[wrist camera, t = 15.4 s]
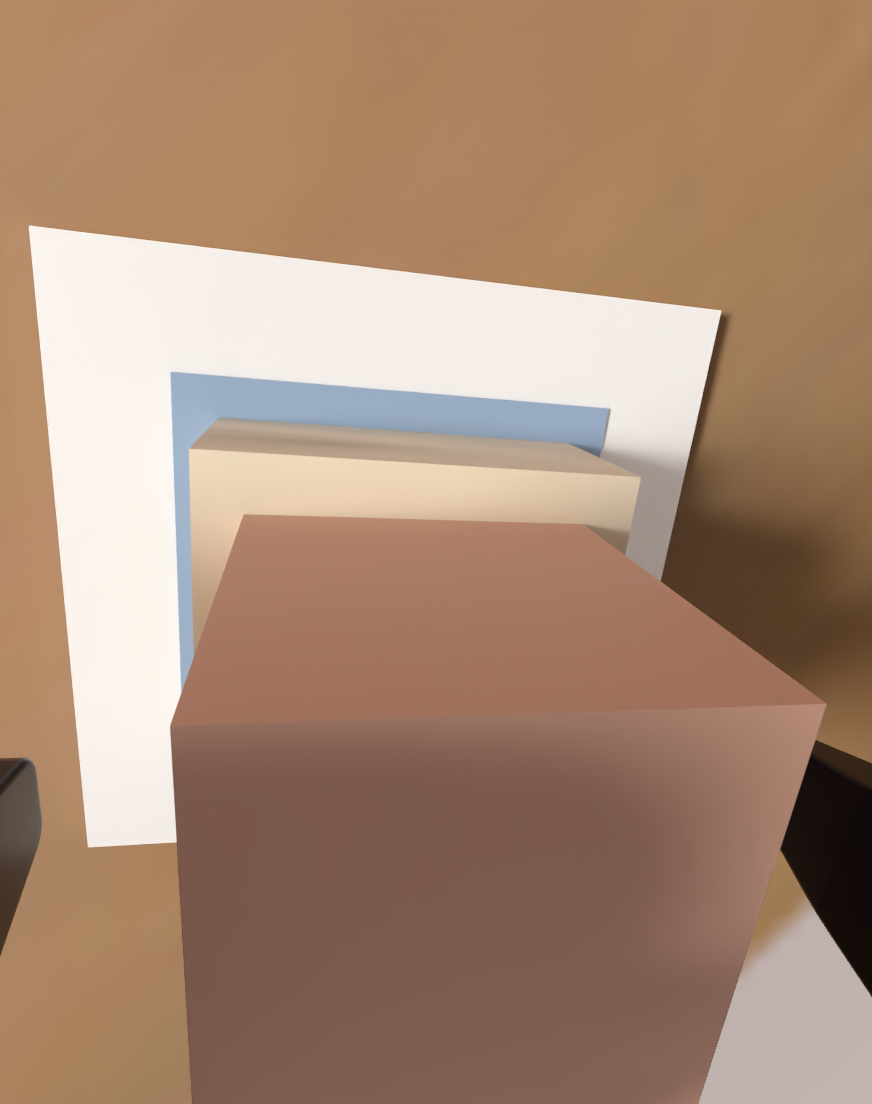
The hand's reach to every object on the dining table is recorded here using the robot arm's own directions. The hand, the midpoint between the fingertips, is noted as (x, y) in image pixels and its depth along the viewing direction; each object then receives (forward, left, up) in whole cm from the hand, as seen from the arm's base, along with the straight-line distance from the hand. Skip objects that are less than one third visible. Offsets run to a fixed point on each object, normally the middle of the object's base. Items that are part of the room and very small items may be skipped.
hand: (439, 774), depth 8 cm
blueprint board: (0, 0, -6) cm, 6 cm away
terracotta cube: (0, 0, -2) cm, 2 cm away
